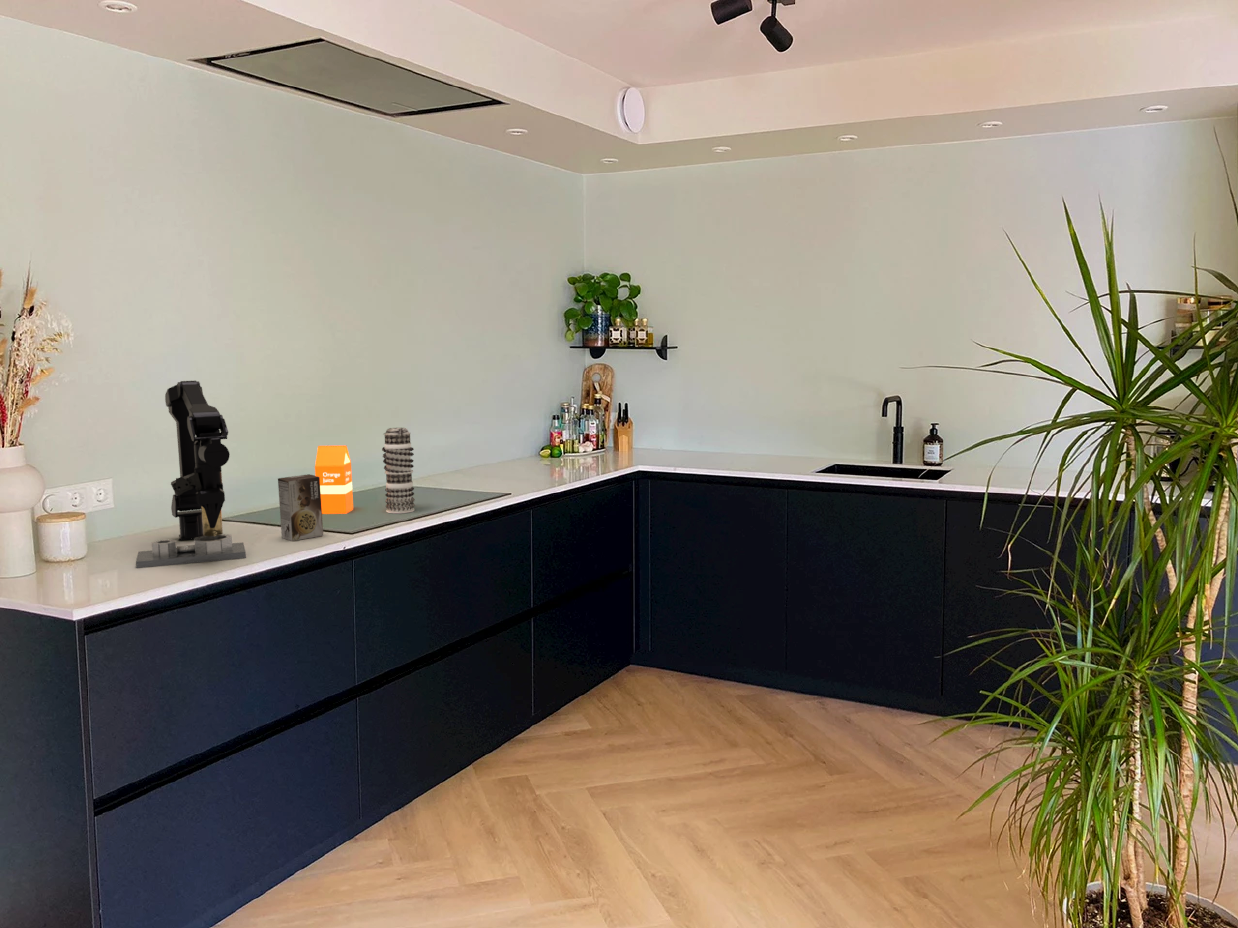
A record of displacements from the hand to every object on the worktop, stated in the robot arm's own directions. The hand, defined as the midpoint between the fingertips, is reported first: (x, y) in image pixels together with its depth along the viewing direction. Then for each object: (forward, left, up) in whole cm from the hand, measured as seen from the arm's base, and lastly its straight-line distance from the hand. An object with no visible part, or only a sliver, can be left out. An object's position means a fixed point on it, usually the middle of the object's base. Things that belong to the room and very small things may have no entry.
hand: (212, 526), depth 248 cm
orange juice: (-49, +35, -8) cm, 61 cm away
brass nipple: (0, 0, -2) cm, 2 cm away
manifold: (0, -5, -7) cm, 9 cm away
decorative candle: (-41, +53, -8) cm, 67 cm away
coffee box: (-14, +22, -8) cm, 27 cm away
